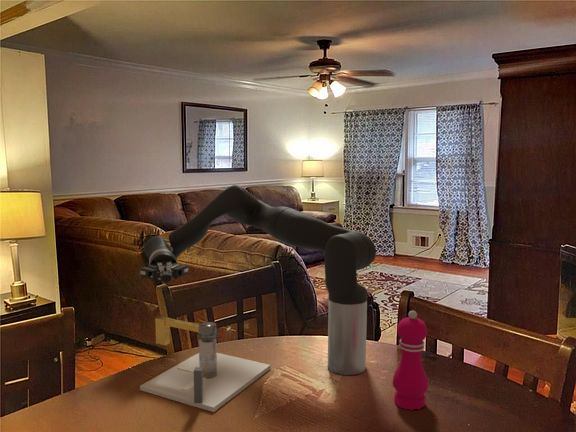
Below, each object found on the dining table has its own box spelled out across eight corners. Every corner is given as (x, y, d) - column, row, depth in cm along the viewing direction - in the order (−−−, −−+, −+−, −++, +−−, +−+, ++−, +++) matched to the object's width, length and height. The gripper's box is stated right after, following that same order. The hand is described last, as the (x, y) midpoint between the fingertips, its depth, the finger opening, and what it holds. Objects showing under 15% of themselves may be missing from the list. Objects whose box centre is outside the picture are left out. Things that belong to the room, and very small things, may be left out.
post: (206, 369, 117) (206, 335, 116) (220, 373, 115) (219, 338, 114) (196, 376, 113) (195, 341, 112) (210, 380, 112) (209, 344, 110)
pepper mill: (428, 413, 99) (432, 317, 97) (392, 409, 101) (394, 315, 98) (426, 396, 106) (429, 306, 104) (391, 393, 108) (394, 304, 105)
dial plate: (204, 353, 129) (203, 323, 128) (270, 368, 120) (270, 337, 119) (138, 390, 108) (137, 356, 108) (212, 413, 99) (211, 375, 98)
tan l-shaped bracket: (220, 352, 114) (219, 323, 114) (209, 358, 111) (209, 329, 110) (164, 339, 122) (163, 312, 121) (152, 345, 119) (152, 317, 118)
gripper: (138, 251, 137) (138, 265, 121) (186, 249, 141) (193, 262, 125) (138, 278, 138) (139, 295, 122) (186, 275, 142) (193, 291, 126)
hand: (166, 278), depth 123 cm, fingers closed
